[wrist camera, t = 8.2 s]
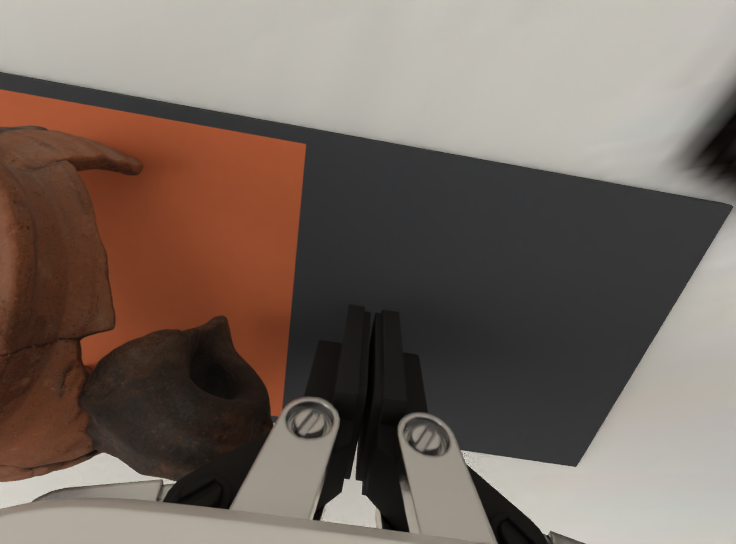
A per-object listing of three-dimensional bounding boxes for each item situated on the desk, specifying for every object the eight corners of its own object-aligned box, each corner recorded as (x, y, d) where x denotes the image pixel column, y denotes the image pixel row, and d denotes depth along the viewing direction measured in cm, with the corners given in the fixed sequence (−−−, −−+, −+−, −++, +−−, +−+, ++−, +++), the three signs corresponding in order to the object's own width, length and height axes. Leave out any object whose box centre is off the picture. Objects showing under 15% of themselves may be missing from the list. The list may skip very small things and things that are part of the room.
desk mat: (-131, 48, 10) (-150, 46, 10) (723, 203, 12) (735, 206, 11) (-16, 372, 15) (-26, 379, 15) (572, 459, 17) (576, 467, 16)
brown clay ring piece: (21, 365, 15) (-430, 432, 7) (111, 159, 16) (-216, 0, 8) (273, 493, 13) (59, 779, 5) (367, 257, 14) (302, 187, 6)
